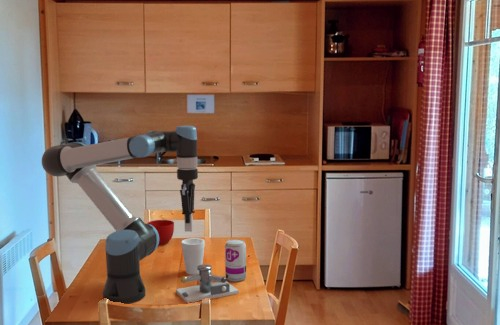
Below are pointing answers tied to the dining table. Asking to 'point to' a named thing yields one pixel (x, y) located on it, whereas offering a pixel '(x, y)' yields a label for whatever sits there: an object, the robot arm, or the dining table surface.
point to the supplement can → (235, 260)
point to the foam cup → (193, 254)
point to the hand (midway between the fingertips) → (188, 230)
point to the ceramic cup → (163, 230)
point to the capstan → (204, 278)
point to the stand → (216, 291)
